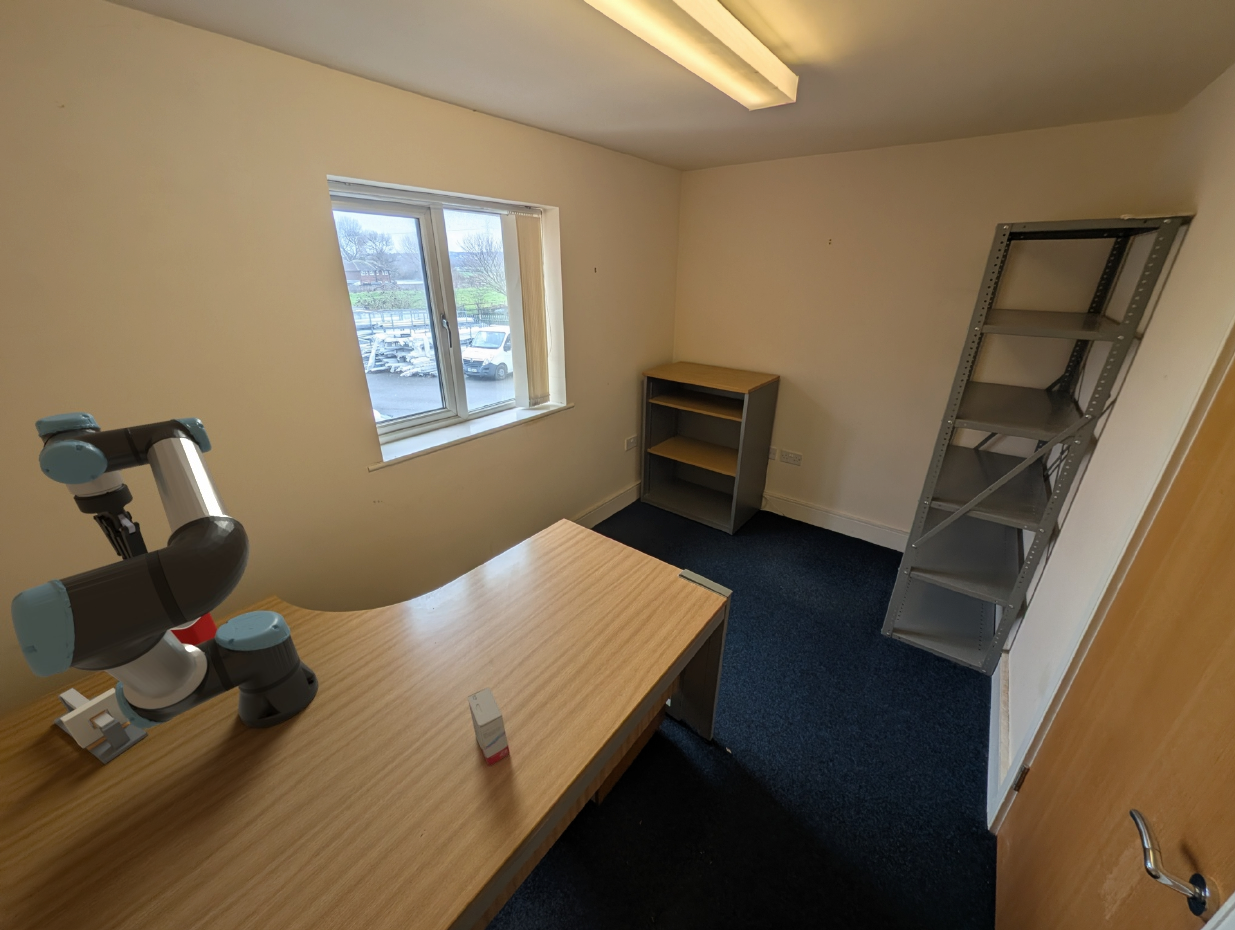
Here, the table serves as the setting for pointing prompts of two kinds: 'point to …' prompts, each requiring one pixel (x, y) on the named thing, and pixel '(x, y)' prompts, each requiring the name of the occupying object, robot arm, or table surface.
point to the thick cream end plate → (81, 715)
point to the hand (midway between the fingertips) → (147, 583)
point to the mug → (196, 630)
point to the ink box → (488, 725)
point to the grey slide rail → (102, 729)
